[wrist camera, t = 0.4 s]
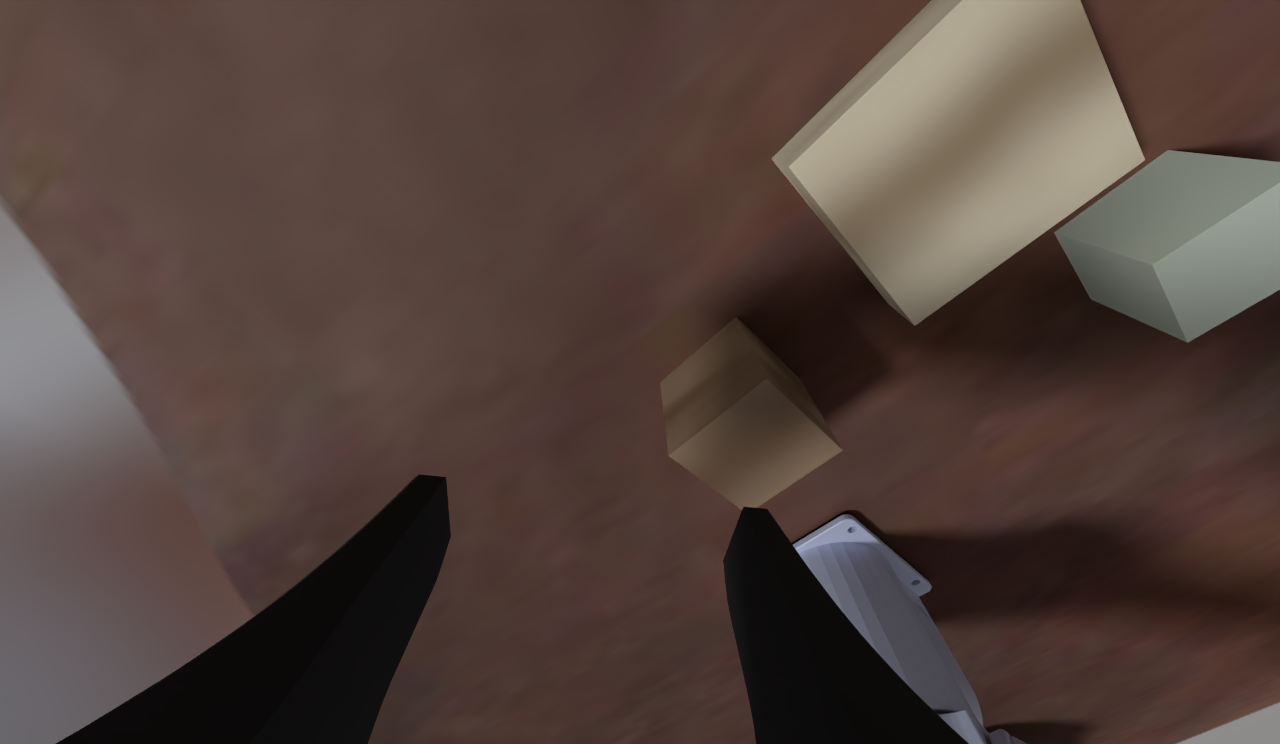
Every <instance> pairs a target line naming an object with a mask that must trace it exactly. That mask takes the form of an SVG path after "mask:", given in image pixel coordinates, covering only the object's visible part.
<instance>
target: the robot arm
mask: <svg viewBox="0 0 1280 744" xmlns="http://www.w3.org/2000/svg"><path fill="white" fill-rule="evenodd" d="M450 537H451V534H450V521H449V509H448V496H447V484H446V477H439V476H429V475H418V476H417V477H415V478H414V479H413V480H412V481H411V482H410V483H409V484H408V485H407V486H406V487H405V488H404V489H403V490H402V491H401V492H400V493H399V494H398V495H397V496H396V497H395V498H393V499H392V500H391V501H390V502H389V503H388V504H387V505H386V506H385V507H384V508H383V509H382V510H381V511H380V512H379V513H378V514H377V515H376V516H375V517H374V518H372V519H371V520H370V521H369V522H368V523H367V524H366V525H365V526H364V527H363V528H362V529H360V530H359V531H358V532H357V533H356V534H355V535H354V536H353V537H352V538H350V539H349V540H348V541H347V542H346V543H345V544H344V545H343V546H342V547H340V548H339V549H338V550H337V551H336V552H335V553H333V554H332V555H331V556H330V557H329V558H328V559H326V560H325V561H324V562H323V563H322V564H320V565H319V566H318V567H317V568H315V569H314V570H313V571H312V572H311V573H309V574H308V575H307V576H306V577H305V578H303V579H302V580H301V581H300V582H299V583H297V584H296V585H295V586H294V587H292V588H291V589H290V590H289V591H287V592H286V593H285V594H283V595H282V596H281V597H280V598H278V599H277V600H276V601H274V602H273V603H272V604H270V605H269V606H268V607H266V608H265V609H264V610H262V611H261V612H260V613H258V614H257V615H256V616H254V617H253V618H252V619H250V620H249V621H247V622H246V623H245V624H244V625H242V626H241V627H239V628H238V629H236V630H235V631H234V632H232V633H231V634H229V635H228V636H226V637H225V638H223V639H222V640H220V641H219V642H217V643H216V644H215V645H213V646H212V647H210V648H209V649H207V650H206V651H204V652H203V653H202V654H200V655H199V656H197V657H196V658H194V659H193V660H191V661H190V662H188V663H187V664H185V665H184V666H182V667H181V668H179V669H178V670H176V671H174V672H173V673H171V674H170V675H168V676H167V677H165V678H164V679H162V680H161V681H159V682H157V683H156V684H154V685H152V686H151V687H149V688H147V689H146V690H144V691H143V692H141V693H139V694H138V695H136V696H134V697H133V698H131V699H130V700H128V701H126V702H125V703H123V704H122V705H120V706H118V707H117V708H115V709H113V710H112V711H110V712H108V713H107V714H105V715H103V716H102V717H100V718H99V719H97V720H95V721H94V722H92V723H90V724H89V725H87V726H85V727H84V728H82V729H80V730H79V731H77V732H75V733H73V734H72V735H70V736H68V737H67V738H65V739H63V740H62V741H60V742H58V743H56V744H368V741H369V738H370V735H371V733H372V730H373V727H374V724H375V721H376V719H377V716H378V713H379V710H380V707H381V705H382V702H383V700H384V697H385V695H386V692H387V690H388V687H389V685H390V682H391V680H392V678H393V676H394V673H395V671H396V669H397V667H398V665H399V662H400V660H401V658H402V656H403V654H404V651H405V649H406V647H407V645H408V642H409V640H410V638H411V636H412V634H413V631H414V629H415V627H416V625H417V623H418V620H419V618H420V616H421V614H422V612H423V609H424V607H425V605H426V603H427V600H428V598H429V596H430V594H431V591H432V589H433V587H434V585H435V582H436V580H437V577H438V574H439V571H440V568H441V565H442V562H443V559H444V556H445V553H446V550H447V547H448V543H449V540H450ZM723 561H724V572H725V583H726V592H727V601H728V606H729V611H730V616H731V620H732V625H733V630H734V634H735V639H736V643H737V648H738V652H739V657H740V661H741V666H742V670H743V675H744V679H745V683H746V688H747V692H748V697H749V702H750V707H751V712H752V718H753V723H754V730H755V738H756V744H1026V743H1025V742H1023V741H1021V740H1019V739H1017V738H1015V737H1013V736H1010V735H1009V734H1008V733H1007V732H1006V731H1005V730H1003V729H998V730H996V731H994V732H991V733H988V732H987V730H986V729H985V728H984V727H983V719H982V714H981V709H980V706H979V703H978V700H977V698H976V696H975V693H974V691H973V690H972V688H971V686H970V684H969V682H968V681H967V679H966V677H965V676H964V674H963V672H962V670H961V669H960V667H959V665H958V663H957V662H956V660H955V658H954V657H953V655H952V653H951V651H950V650H949V648H948V646H947V644H946V643H945V641H944V639H943V637H942V636H941V634H940V632H939V631H938V629H937V627H936V625H935V624H934V622H933V620H932V618H931V617H930V615H929V613H928V612H927V610H926V608H925V606H924V605H923V603H922V601H921V599H920V598H919V596H921V595H923V594H925V593H927V592H929V591H930V590H931V588H932V586H931V585H930V583H929V581H928V580H927V579H926V578H924V577H923V576H922V575H921V574H920V573H919V572H917V571H916V570H915V569H914V568H913V567H912V566H910V565H909V564H908V563H907V562H906V561H905V560H903V559H902V558H901V557H900V556H899V555H898V554H896V553H895V552H894V551H893V550H892V549H891V548H889V547H888V546H887V545H886V544H885V543H884V542H882V541H881V540H880V539H879V538H878V537H877V536H875V535H874V534H873V533H872V532H871V531H870V530H868V529H867V528H866V527H865V526H864V525H863V524H861V523H860V522H859V521H858V520H857V519H856V518H854V517H853V516H852V515H849V514H844V515H841V516H839V517H838V518H836V519H834V520H833V521H831V522H829V523H828V524H826V525H824V526H823V527H821V528H819V529H818V530H816V531H814V532H813V533H811V534H809V535H808V536H806V537H804V538H803V539H801V540H799V541H798V542H796V543H794V544H793V545H792V544H791V542H790V541H789V539H788V538H787V536H786V535H785V534H784V532H783V531H782V529H781V528H780V526H779V525H778V524H777V522H776V521H775V519H774V518H773V516H772V515H771V514H770V512H769V511H768V510H767V509H762V508H752V507H743V509H742V512H741V514H740V517H739V520H738V522H737V525H736V528H735V530H734V533H733V536H732V539H731V541H730V544H729V547H728V549H727V552H726V555H725V557H724V560H723Z"/></svg>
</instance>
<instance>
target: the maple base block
mask: <svg viewBox="0 0 1280 744" xmlns="http://www.w3.org/2000/svg"><path fill="white" fill-rule="evenodd" d="M772 160H773V161H774V163H775V164H776V165H777V166H778V168H779V169H780V170H781V171H782V173H783V174H784V175H785V176H786V177H787V179H788V180H789V181H790V182H791V184H792V185H793V186H794V187H795V189H796V190H797V191H798V192H799V194H800V195H801V196H802V197H803V199H804V200H805V201H806V202H807V204H808V205H809V206H810V207H811V209H812V210H813V211H814V212H815V214H816V215H817V216H818V217H819V218H820V220H821V221H822V222H823V223H824V225H825V226H826V227H827V228H828V230H829V231H830V232H831V233H832V235H833V236H834V237H835V238H836V240H837V241H838V242H839V243H840V245H841V246H842V247H843V248H844V250H845V251H846V252H847V253H848V254H849V256H850V257H851V258H852V259H853V261H854V262H855V263H856V264H857V266H858V267H859V268H860V269H861V271H862V272H863V273H864V274H865V276H866V277H867V278H868V279H869V281H870V282H871V283H872V284H873V286H874V287H875V288H876V289H877V291H878V292H879V293H880V294H881V295H882V297H883V298H884V299H885V300H886V302H887V303H888V304H889V305H890V306H891V307H892V308H894V309H895V310H896V311H897V312H898V313H900V314H901V315H902V316H903V317H905V318H906V319H907V320H908V321H909V322H911V323H912V324H913V325H914V326H915V325H917V324H918V323H920V322H921V321H922V320H924V319H925V318H927V317H928V316H929V315H931V314H932V313H934V312H935V311H936V310H938V309H939V308H940V307H942V306H943V305H945V304H946V303H947V302H949V301H950V300H952V299H953V298H954V297H956V296H957V295H958V294H960V293H961V292H963V291H964V290H965V289H967V288H968V287H970V286H971V285H972V284H974V283H975V282H976V281H978V280H979V279H981V278H982V277H983V276H985V275H986V274H988V273H989V272H990V271H992V270H993V269H995V268H996V267H997V266H999V265H1000V264H1001V263H1003V262H1004V261H1006V260H1007V259H1008V258H1010V257H1011V256H1013V255H1014V254H1015V253H1017V252H1018V251H1019V250H1021V249H1022V248H1024V247H1025V246H1026V245H1028V244H1029V243H1031V242H1032V241H1033V240H1035V239H1036V238H1038V237H1039V236H1040V235H1042V234H1043V233H1044V232H1046V231H1047V230H1049V229H1050V228H1051V227H1053V226H1054V225H1056V224H1057V223H1058V222H1060V221H1061V220H1062V219H1064V218H1065V217H1067V216H1068V215H1069V214H1071V213H1072V212H1074V211H1075V210H1076V209H1078V208H1079V207H1080V206H1082V205H1083V204H1085V203H1086V202H1087V201H1089V200H1090V199H1092V198H1093V197H1094V196H1096V195H1097V194H1099V193H1100V192H1101V191H1103V190H1104V189H1105V188H1107V187H1108V186H1110V185H1111V184H1112V183H1114V182H1115V181H1117V180H1118V179H1119V178H1121V177H1122V176H1123V175H1125V174H1126V173H1128V172H1129V171H1130V170H1132V169H1133V168H1135V167H1136V166H1137V165H1139V164H1140V163H1142V162H1143V161H1144V160H1145V159H1144V156H1143V154H1142V151H1141V149H1140V146H1139V144H1138V141H1137V139H1136V136H1135V134H1134V132H1133V129H1132V127H1131V124H1130V122H1129V119H1128V117H1127V114H1126V112H1125V109H1124V107H1123V104H1122V102H1121V100H1120V97H1119V95H1118V92H1117V90H1116V87H1115V85H1114V82H1113V80H1112V77H1111V75H1110V72H1109V70H1108V68H1107V65H1106V63H1105V60H1104V58H1103V55H1102V53H1101V50H1100V48H1099V45H1098V43H1097V40H1096V38H1095V36H1094V33H1093V31H1092V28H1091V26H1090V23H1089V21H1088V18H1087V16H1086V13H1085V11H1084V8H1083V6H1082V4H1081V1H1080V0H932V1H931V2H929V3H928V4H927V5H926V6H925V7H924V8H923V9H922V10H921V11H920V12H919V13H918V14H917V15H916V16H915V17H914V18H913V19H912V20H911V21H910V22H909V23H908V24H907V25H906V26H905V27H904V28H903V29H902V30H901V31H900V32H899V33H898V34H897V35H896V36H895V37H894V38H893V39H892V40H891V41H890V42H889V43H888V44H887V45H886V46H885V47H884V48H883V49H882V50H881V51H880V52H879V53H878V54H877V55H876V56H875V57H874V58H873V59H872V60H871V61H870V62H869V63H868V64H867V65H866V66H865V67H864V68H863V69H862V70H861V71H860V72H859V73H858V74H857V75H856V76H855V77H854V78H853V79H852V80H851V81H850V82H849V83H848V84H847V85H846V86H844V87H843V88H842V89H841V90H840V91H839V92H838V93H837V94H836V95H835V96H834V97H833V98H832V99H831V100H830V101H829V102H828V103H827V104H826V105H825V106H824V107H823V108H822V109H821V110H820V111H819V112H818V113H817V114H816V115H815V116H814V117H813V118H812V119H811V120H810V121H809V122H808V123H807V124H806V125H805V126H804V127H803V128H802V129H801V130H800V131H799V132H798V133H797V134H796V135H795V136H794V137H793V138H792V139H791V140H790V141H789V142H788V143H787V144H786V145H785V146H784V147H783V148H782V149H781V150H780V151H779V152H778V153H777V154H776V155H775V156H774V157H773V158H772Z"/></svg>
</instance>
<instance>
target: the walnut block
mask: <svg viewBox="0 0 1280 744" xmlns="http://www.w3.org/2000/svg"><path fill="white" fill-rule="evenodd" d="M660 386H661V395H662V404H663V412H664V421H665V430H666V438H667V447H668V455H669V456H670V457H671V458H672V459H674V460H675V461H676V462H678V463H679V464H680V465H682V466H683V467H684V468H686V469H687V470H689V471H690V472H691V473H693V474H694V475H695V476H697V477H698V478H699V479H701V480H702V481H703V482H705V483H706V484H707V485H709V486H710V487H711V488H713V489H714V490H715V491H717V492H718V493H720V494H721V495H722V496H724V497H725V498H726V499H728V500H729V501H730V502H732V503H733V504H734V505H736V506H737V507H738V508H740V509H741V510H742V509H743V507H752V508H757V507H758V506H760V505H761V504H763V503H764V502H766V501H767V500H769V499H770V498H772V497H773V496H775V495H776V494H778V493H779V492H781V491H782V490H784V489H785V488H787V487H788V486H790V485H791V484H793V483H794V482H796V481H797V480H799V479H800V478H802V477H803V476H805V475H806V474H808V473H809V472H811V471H813V470H814V469H816V468H817V467H819V466H820V465H822V464H823V463H825V462H826V461H828V460H829V459H831V458H832V457H834V456H835V455H837V454H838V453H840V452H841V451H843V449H842V448H841V446H840V445H839V443H838V441H837V440H836V438H835V436H834V435H833V433H832V431H831V430H830V428H829V426H828V425H827V423H826V421H825V420H824V418H823V416H822V415H821V413H820V412H819V410H818V408H817V407H816V405H815V403H814V402H813V400H812V398H811V397H810V395H809V393H808V392H807V390H806V388H805V387H804V385H803V383H802V382H801V380H800V379H799V378H798V377H797V376H796V375H795V374H794V373H793V372H792V371H791V370H790V369H789V368H788V367H787V366H786V365H785V364H784V363H783V362H782V361H781V360H780V359H779V358H778V357H777V356H776V355H775V354H774V353H773V352H772V351H771V350H770V349H769V348H768V347H767V346H766V345H765V344H764V343H763V342H762V341H761V340H760V339H759V338H758V337H757V336H756V335H755V334H754V333H753V332H752V331H751V330H750V329H749V328H748V327H746V326H745V325H744V324H743V323H742V322H741V321H740V320H739V319H738V318H737V317H735V318H734V319H733V320H731V321H730V322H729V323H728V324H727V325H726V326H724V327H723V328H722V329H721V330H720V331H719V332H718V333H716V334H715V335H714V336H713V337H712V338H711V339H710V340H708V341H707V342H706V343H705V344H704V345H703V346H701V347H700V348H699V349H698V350H697V351H696V352H695V353H693V354H692V355H691V356H690V357H689V358H688V359H687V360H685V361H684V362H683V363H682V364H681V365H680V366H678V367H677V368H676V369H675V370H674V371H673V372H672V373H670V374H669V375H668V376H667V377H666V378H665V379H664V380H662V381H661V382H660Z"/></svg>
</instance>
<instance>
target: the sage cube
mask: <svg viewBox="0 0 1280 744" xmlns="http://www.w3.org/2000/svg"><path fill="white" fill-rule="evenodd" d="M1054 234H1055V235H1056V237H1057V239H1058V241H1059V243H1060V245H1061V246H1062V248H1063V250H1064V252H1065V254H1066V255H1067V257H1068V259H1069V261H1070V263H1071V264H1072V266H1073V268H1074V270H1075V272H1076V273H1077V275H1078V277H1079V279H1080V281H1081V282H1082V284H1083V286H1084V288H1085V290H1086V292H1087V293H1088V295H1089V297H1090V299H1091V300H1093V301H1096V302H1098V303H1100V304H1102V305H1105V306H1107V307H1109V308H1111V309H1113V310H1116V311H1118V312H1120V313H1122V314H1125V315H1127V316H1129V317H1131V318H1134V319H1136V320H1138V321H1140V322H1142V323H1145V324H1147V325H1149V326H1151V327H1154V328H1156V329H1158V330H1160V331H1163V332H1165V333H1167V334H1169V335H1171V336H1174V337H1176V338H1178V339H1180V340H1183V341H1185V342H1187V343H1188V342H1190V341H1191V340H1193V339H1195V338H1197V337H1198V336H1200V335H1202V334H1204V333H1205V332H1207V331H1209V330H1210V329H1212V328H1214V327H1216V326H1217V325H1219V324H1221V323H1223V322H1224V321H1226V320H1228V319H1230V318H1231V317H1233V316H1235V315H1237V314H1238V313H1240V312H1242V311H1243V310H1245V309H1247V308H1249V307H1250V306H1252V305H1254V304H1256V303H1257V302H1259V301H1261V300H1263V299H1264V298H1266V297H1268V296H1269V295H1271V294H1273V293H1275V292H1276V291H1278V290H1280V162H1274V161H1265V160H1256V159H1246V158H1237V157H1228V156H1218V155H1209V154H1200V153H1191V152H1181V151H1172V150H1168V151H1166V152H1165V153H1163V154H1162V155H1161V156H1159V157H1158V158H1156V159H1155V160H1154V161H1152V162H1151V163H1150V164H1148V165H1147V166H1145V167H1144V168H1143V169H1141V170H1140V171H1138V172H1137V173H1136V174H1134V175H1133V176H1132V177H1130V178H1129V179H1127V180H1126V181H1125V182H1123V183H1122V184H1120V185H1119V186H1118V187H1116V188H1115V189H1114V190H1112V191H1111V192H1109V193H1108V194H1107V195H1105V196H1104V197H1102V198H1101V199H1100V200H1098V201H1097V202H1096V203H1094V204H1093V205H1091V206H1090V207H1089V208H1087V209H1086V210H1084V211H1083V212H1082V213H1080V214H1079V215H1077V216H1076V217H1075V218H1073V219H1072V220H1071V221H1069V222H1068V223H1066V224H1065V225H1064V226H1062V227H1061V228H1059V229H1058V230H1057V231H1055V232H1054Z"/></svg>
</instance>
